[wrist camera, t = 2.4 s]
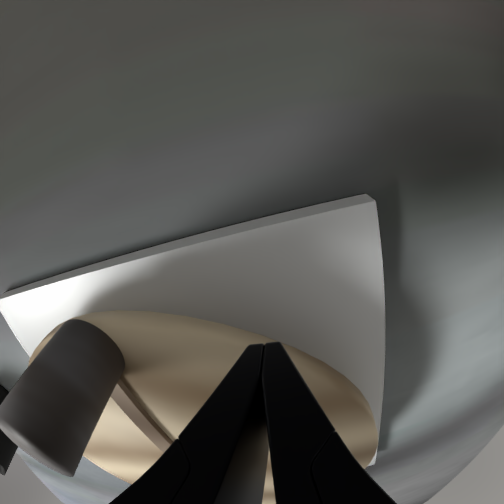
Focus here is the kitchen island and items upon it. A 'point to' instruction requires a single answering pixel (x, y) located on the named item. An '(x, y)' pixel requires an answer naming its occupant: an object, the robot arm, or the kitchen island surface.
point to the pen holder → (5, 442)
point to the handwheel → (148, 391)
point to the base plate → (245, 287)
